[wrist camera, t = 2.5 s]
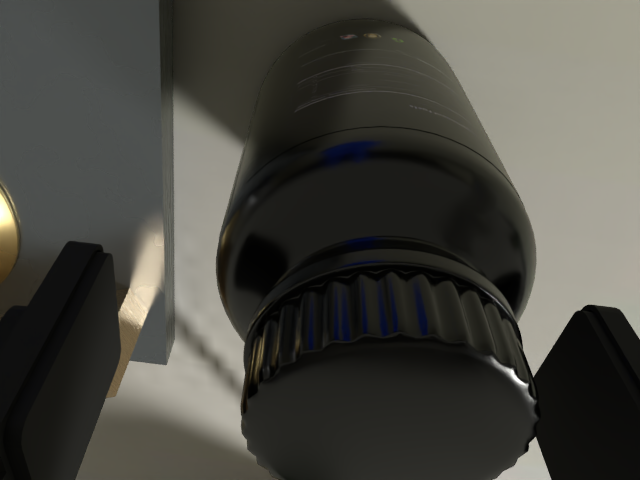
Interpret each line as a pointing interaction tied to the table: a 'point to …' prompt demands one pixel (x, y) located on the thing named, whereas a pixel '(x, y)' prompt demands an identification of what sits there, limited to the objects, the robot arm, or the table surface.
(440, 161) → the supplement bottle
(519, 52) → the table surface
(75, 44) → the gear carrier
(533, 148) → the table surface
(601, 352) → the robot arm
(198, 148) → the table surface
